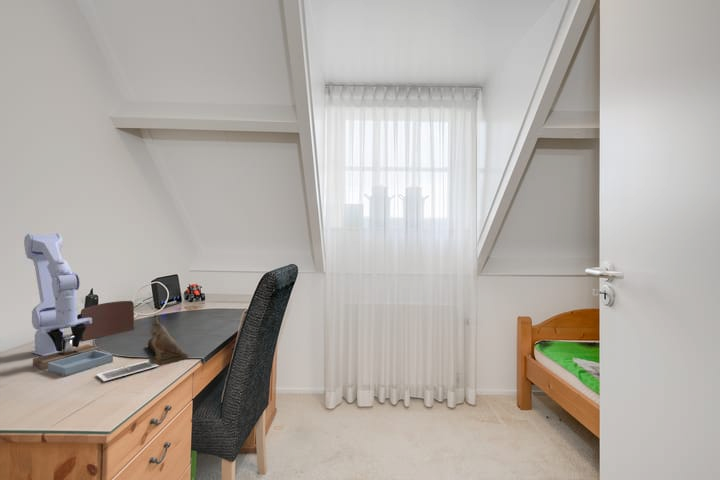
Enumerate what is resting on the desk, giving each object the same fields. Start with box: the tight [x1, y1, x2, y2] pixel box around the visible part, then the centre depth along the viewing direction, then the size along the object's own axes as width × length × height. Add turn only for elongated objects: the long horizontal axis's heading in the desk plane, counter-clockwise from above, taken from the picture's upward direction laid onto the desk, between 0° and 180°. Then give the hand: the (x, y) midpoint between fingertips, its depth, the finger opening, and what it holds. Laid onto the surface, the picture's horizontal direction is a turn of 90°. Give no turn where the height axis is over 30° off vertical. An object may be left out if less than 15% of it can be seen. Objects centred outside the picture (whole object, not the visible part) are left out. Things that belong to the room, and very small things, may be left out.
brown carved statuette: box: [148, 314, 189, 366], centre depth 120 cm, size 12×6×18 cm, turn 125°
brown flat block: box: [32, 344, 101, 371], centre depth 122 cm, size 8×16×2 cm, turn 154°
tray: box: [47, 350, 114, 377], centre depth 116 cm, size 11×14×2 cm
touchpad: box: [95, 359, 160, 382], centre depth 112 cm, size 8×15×2 cm, turn 141°
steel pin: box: [62, 333, 75, 356], centre depth 122 cm, size 4×4×8 cm
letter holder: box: [77, 300, 135, 342], centre depth 153 cm, size 10×20×14 cm, turn 148°
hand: (67, 348), depth 122 cm, fingers closed on steel pin, 4 cm apart
